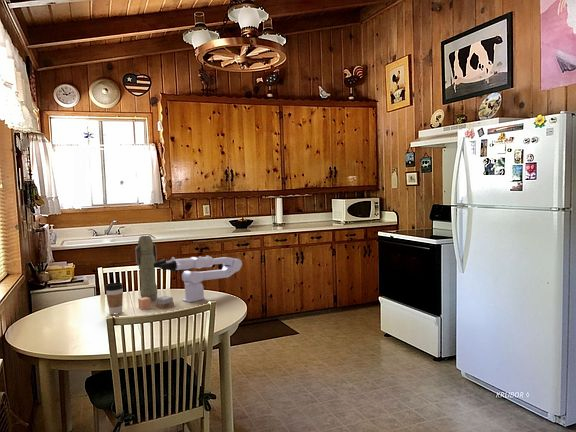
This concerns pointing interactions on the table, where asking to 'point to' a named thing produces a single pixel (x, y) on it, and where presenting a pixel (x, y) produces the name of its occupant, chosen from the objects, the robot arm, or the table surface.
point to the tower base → (164, 305)
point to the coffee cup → (114, 297)
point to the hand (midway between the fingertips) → (157, 266)
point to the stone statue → (147, 266)
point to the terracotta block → (144, 302)
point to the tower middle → (164, 300)
